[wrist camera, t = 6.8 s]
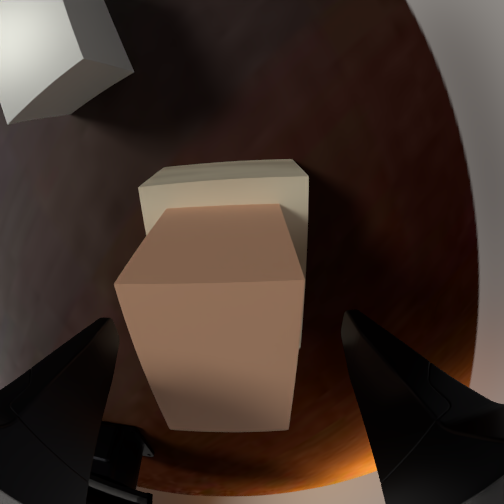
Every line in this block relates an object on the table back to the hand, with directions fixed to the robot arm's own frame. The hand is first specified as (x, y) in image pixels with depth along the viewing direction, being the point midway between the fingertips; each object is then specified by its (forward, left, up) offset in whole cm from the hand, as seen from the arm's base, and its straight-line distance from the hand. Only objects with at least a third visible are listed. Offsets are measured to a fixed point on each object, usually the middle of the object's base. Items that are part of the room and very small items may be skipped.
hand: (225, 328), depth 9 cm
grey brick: (+11, +7, -7) cm, 15 cm away
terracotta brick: (0, 0, -3) cm, 3 cm away
